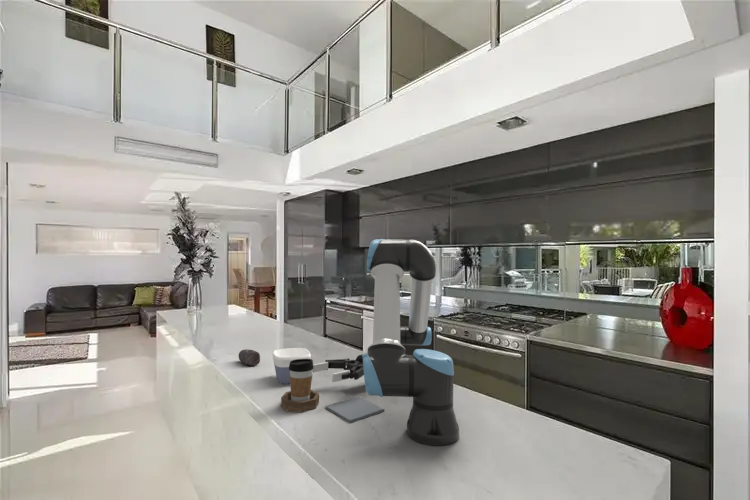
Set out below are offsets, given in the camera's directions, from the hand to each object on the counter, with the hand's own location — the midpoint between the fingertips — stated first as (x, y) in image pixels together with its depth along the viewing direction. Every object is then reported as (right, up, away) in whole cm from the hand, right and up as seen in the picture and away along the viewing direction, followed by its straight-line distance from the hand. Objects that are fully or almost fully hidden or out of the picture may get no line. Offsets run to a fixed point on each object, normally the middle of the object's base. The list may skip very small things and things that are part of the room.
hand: (322, 373), depth 131 cm
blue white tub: (-16, -10, +20) cm, 27 cm away
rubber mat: (+12, -9, -10) cm, 18 cm away
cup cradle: (-7, -9, -6) cm, 13 cm away
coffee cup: (-7, -9, -6) cm, 13 cm away
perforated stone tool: (-41, -10, +41) cm, 59 cm away
